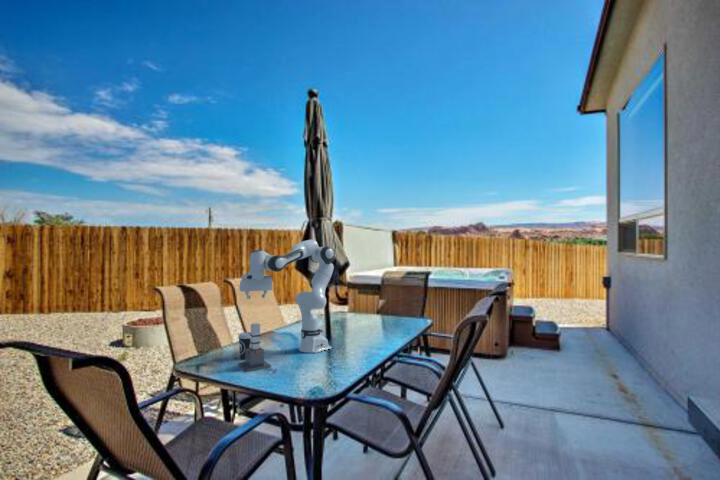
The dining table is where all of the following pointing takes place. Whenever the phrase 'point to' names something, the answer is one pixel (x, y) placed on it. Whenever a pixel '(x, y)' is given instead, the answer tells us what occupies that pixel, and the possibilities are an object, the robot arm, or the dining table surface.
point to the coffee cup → (244, 343)
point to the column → (255, 337)
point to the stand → (254, 360)
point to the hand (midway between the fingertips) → (256, 298)
